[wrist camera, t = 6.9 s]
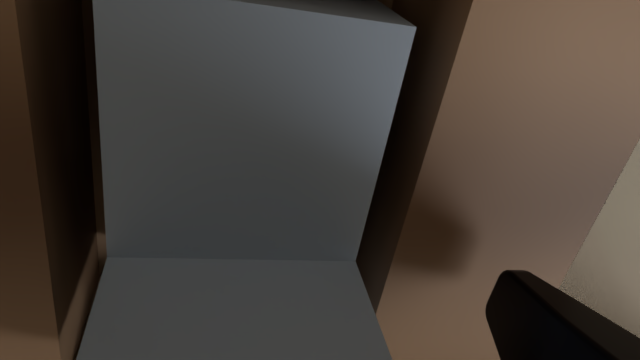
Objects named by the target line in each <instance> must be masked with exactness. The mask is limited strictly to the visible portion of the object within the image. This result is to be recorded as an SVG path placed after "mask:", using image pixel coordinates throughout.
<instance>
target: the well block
mask: <svg viewBox="0 0 640 360" xmlns="http://www.w3.org/2000/svg"><path fill="white" fill-rule="evenodd" d="M378 1H379V2H381V3H382V4H384V5H385V6H386V7H388V8H389V9H391V10H392V11H394V12H395V13H397V14H398V15H400V16H401V17H403V18H404V19H406V20H407V21H409V22H410V23H412V24H413V25H414V26H416V27H417V28H416V32H415V35H414V39H413V43H412V47H411V51H410V54H409V58H408V62H407V66H406V70H405V74H404V77H403V81H402V85H401V89H400V93H399V97H398V100H397V104H396V108H395V112H394V116H393V120H392V123H391V127H390V131H389V135H388V139H387V143H386V146H385V150H384V154H383V158H382V162H381V166H380V169H379V173H378V177H377V181H376V185H375V189H374V192H373V196H372V200H371V204H370V208H369V212H368V215H367V219H366V223H365V227H364V231H363V234H362V238H361V242H360V246H359V250H358V254H357V257H356V264H357V267H358V269H359V272H360V275H361V277H362V280H363V283H364V285H365V288H366V291H367V293H368V296H369V299H370V301H371V304H372V307H373V309H374V312H375V315H376V317H377V320H378V323H379V325H380V328H381V331H382V333H383V336H384V339H385V341H386V344H387V347H388V349H389V352H390V355H391V357H392V360H500V357H499V354H498V351H497V348H496V345H495V343H494V340H493V337H492V334H491V331H490V328H489V325H488V322H487V319H486V314H485V308H486V304H487V301H488V299H489V297H490V294H491V292H492V290H493V288H494V286H495V283H496V281H497V279H498V277H499V275H500V274H501V273H502V272H503V271H505V270H526V271H529V272H531V273H532V274H534V275H536V276H537V277H539V278H541V279H542V280H544V281H546V282H547V283H549V284H551V285H552V286H554V287H556V288H557V289H559V287H560V285H561V283H562V281H563V279H564V277H565V276H566V274H567V272H568V270H569V268H570V266H571V265H572V263H573V261H574V259H575V257H576V255H577V253H578V252H579V250H580V248H581V246H582V244H583V242H584V241H585V239H586V237H587V235H588V233H589V231H590V229H591V228H592V226H593V224H594V222H595V220H596V218H597V216H598V215H599V213H600V211H601V209H602V207H603V205H604V204H605V202H606V200H607V198H608V196H609V194H610V192H611V191H612V189H613V187H614V185H615V183H616V181H617V180H618V178H619V176H620V174H621V172H622V170H623V168H624V167H625V165H626V163H627V161H628V159H629V157H630V156H631V154H632V152H633V150H634V148H635V146H636V144H637V143H638V141H639V139H640V0H378ZM106 259H107V249H106V231H105V213H104V195H103V177H102V160H101V142H100V124H99V106H98V89H97V71H96V53H95V35H94V17H93V0H0V360H76V358H77V355H78V352H79V348H80V345H81V342H82V338H83V335H84V332H85V328H86V325H87V322H88V319H89V315H90V312H91V309H92V305H93V302H94V299H95V295H96V292H97V289H98V285H99V282H100V279H101V275H102V272H103V269H104V266H105V262H106Z"/></svg>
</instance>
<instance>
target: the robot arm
mask: <svg viewBox="0 0 640 360" xmlns="http://www.w3.org/2000/svg"><path fill="white" fill-rule="evenodd" d="M485 314H486V319H487V322H488V325H489V328H490V331H491V334H492V337H493V340H494V343H495V345H496V348H497V351H498V354H499V357H500V360H640V338H638V337H637V336H635V335H634V334H632V333H630V332H629V331H627V330H625V329H624V328H622V327H620V326H619V325H617V324H615V323H614V322H612V321H610V320H609V319H607V318H605V317H604V316H602V315H600V314H599V313H597V312H595V311H594V310H592V309H590V308H589V307H587V306H585V305H584V304H582V303H580V302H579V301H577V300H575V299H574V298H572V297H570V296H569V295H567V294H566V293H564V292H562V291H561V290H559V289H557V288H556V287H554V286H552V285H551V284H549V283H547V282H546V281H544V280H542V279H541V278H539V277H537V276H536V275H534V274H532V273H531V272H529V271H526V270H505V271H503V272H502V273H501V274H500V275H499V277H498V279H497V281H496V283H495V286H494V288H493V290H492V292H491V294H490V297H489V299H488V301H487V304H486V308H485Z"/></svg>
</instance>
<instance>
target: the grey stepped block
mask: <svg viewBox="0 0 640 360" xmlns="http://www.w3.org/2000/svg"><path fill="white" fill-rule="evenodd" d="M93 17H94V35H95V53H96V71H97V89H98V106H99V124H100V142H101V160H102V177H103V195H104V213H105V231H106V249H107V259H106V262H105V266H104V269H103V272H102V275H101V279H100V282H99V285H98V289H97V292H96V295H95V299H94V302H93V305H92V309H91V312H90V315H89V319H88V322H87V325H86V328H85V332H84V335H83V338H82V342H81V345H80V348H79V352H78V355H77V358H76V360H392V357H391V355H390V352H389V349H388V347H387V344H386V341H385V339H384V336H383V333H382V331H381V328H380V325H379V323H378V320H377V317H376V315H375V312H374V309H373V307H372V304H371V301H370V299H369V296H368V293H367V291H366V288H365V285H364V283H363V280H362V277H361V275H360V272H359V269H358V267H357V264H356V257H357V254H358V250H359V246H360V242H361V238H362V234H363V231H364V227H365V223H366V219H367V215H368V212H369V208H370V204H371V200H372V196H373V192H374V189H375V185H376V181H377V177H378V173H379V169H380V166H381V162H382V158H383V154H384V150H385V146H386V143H387V139H388V135H389V131H390V127H391V123H392V120H393V116H394V112H395V108H396V104H397V100H398V97H399V93H400V89H401V85H402V81H403V77H404V74H405V70H406V66H407V62H408V58H409V54H410V51H411V47H412V43H413V39H414V35H415V32H416V28H417V27H416V26H414V25H413V24H412V23H410V22H409V21H407V20H406V19H404V18H403V17H401V16H400V15H398V14H397V13H395V12H394V11H392V10H391V9H389V8H388V7H386V6H385V5H384V4H382V3H381V2H379V1H378V0H93Z"/></svg>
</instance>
